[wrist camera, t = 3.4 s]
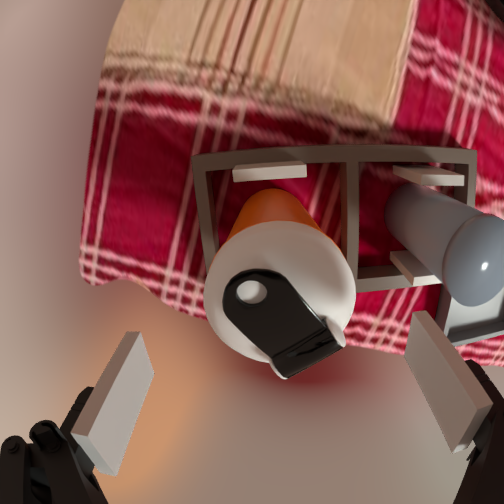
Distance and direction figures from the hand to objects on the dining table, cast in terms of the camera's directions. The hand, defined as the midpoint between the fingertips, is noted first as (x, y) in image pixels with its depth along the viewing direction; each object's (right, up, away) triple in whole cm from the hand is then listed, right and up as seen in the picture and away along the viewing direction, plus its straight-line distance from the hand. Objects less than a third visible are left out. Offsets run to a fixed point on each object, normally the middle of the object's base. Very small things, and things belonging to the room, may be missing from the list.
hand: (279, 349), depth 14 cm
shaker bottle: (+1, +8, +20) cm, 22 cm away
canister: (+17, +9, +19) cm, 27 cm away
